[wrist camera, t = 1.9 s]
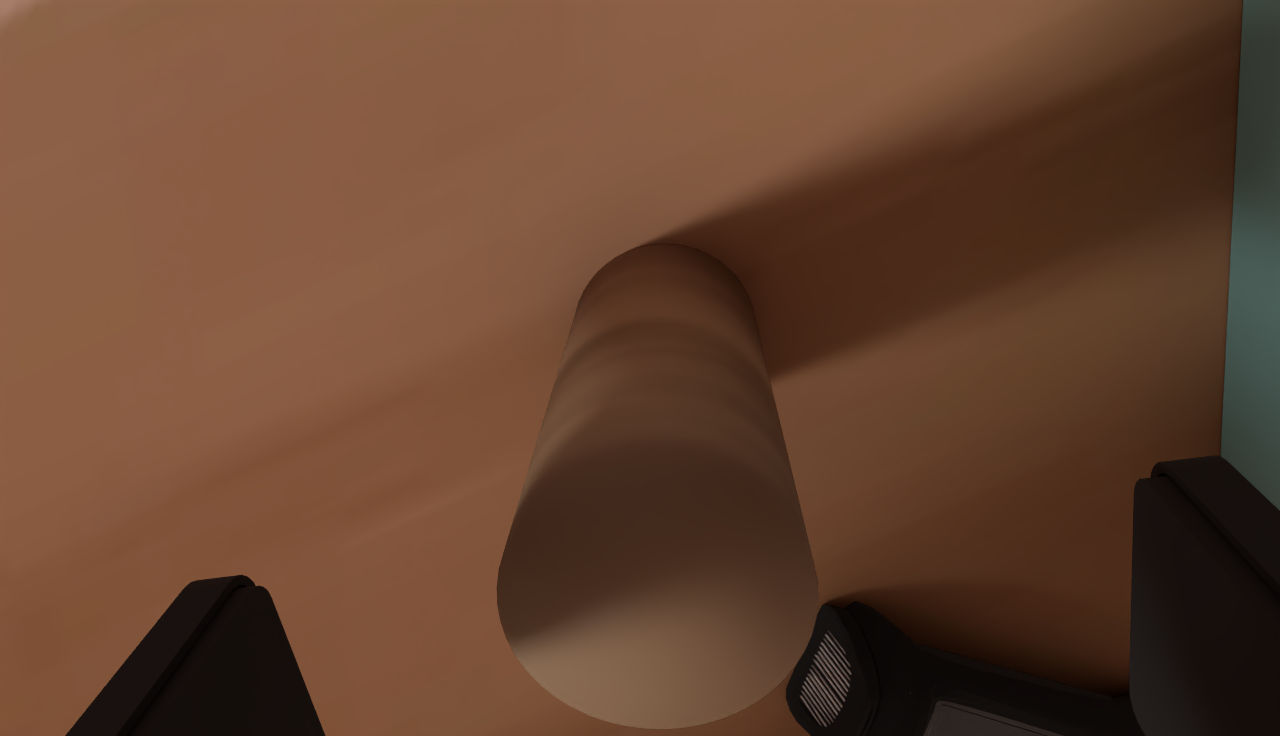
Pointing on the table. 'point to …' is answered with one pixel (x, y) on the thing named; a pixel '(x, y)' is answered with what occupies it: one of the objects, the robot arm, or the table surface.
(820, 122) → the table surface
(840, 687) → the electric trimmer
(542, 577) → the walnut peg
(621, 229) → the table surface
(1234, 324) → the socket stand
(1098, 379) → the table surface
